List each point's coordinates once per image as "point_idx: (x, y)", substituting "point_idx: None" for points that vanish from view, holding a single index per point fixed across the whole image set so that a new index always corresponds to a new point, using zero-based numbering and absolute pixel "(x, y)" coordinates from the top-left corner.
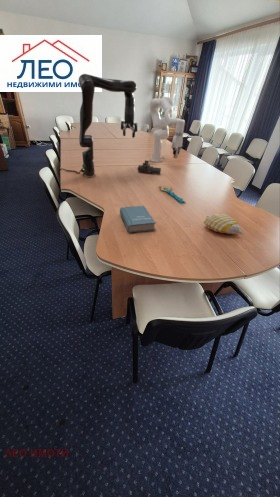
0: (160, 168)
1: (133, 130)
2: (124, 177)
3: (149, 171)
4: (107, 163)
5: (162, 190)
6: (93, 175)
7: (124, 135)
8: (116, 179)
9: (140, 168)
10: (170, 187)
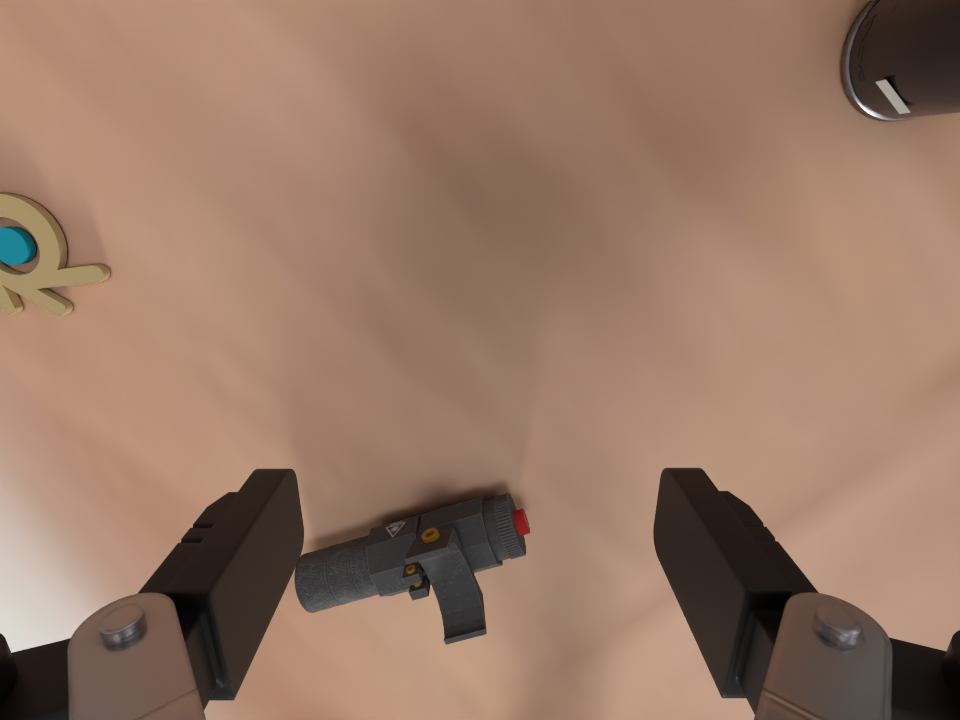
0: (300, 598)
1: (69, 693)
2: (536, 279)
3: (393, 525)
4: (903, 517)
5: (13, 195)
6: (851, 52)
7: (665, 496)
8: (571, 166)
9: (484, 514)
10: (6, 308)
